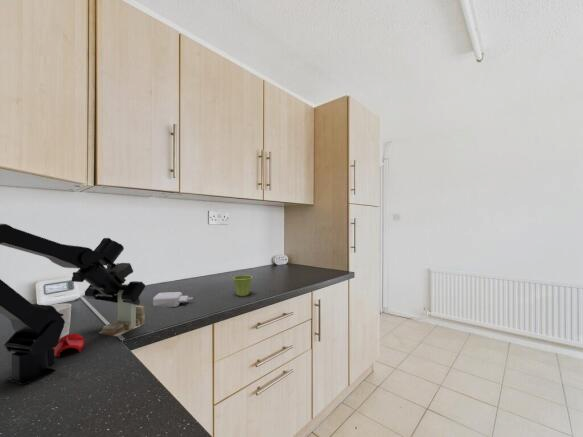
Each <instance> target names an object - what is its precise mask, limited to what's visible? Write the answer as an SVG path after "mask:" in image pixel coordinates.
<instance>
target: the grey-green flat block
mask: <svg viewBox="0 0 583 437" xmlns="http://www.w3.org/2000/svg"><path fill="white" fill-rule="evenodd" d="M128 284H129V283H125V282H124V283H122V285H128ZM121 294H122V293H119V292H118V303H117V321H122V322H128V323H131V328H133V327H135V326H136V305H135V304H130V303H125V302H123V300H122V299H121Z"/></svg>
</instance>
